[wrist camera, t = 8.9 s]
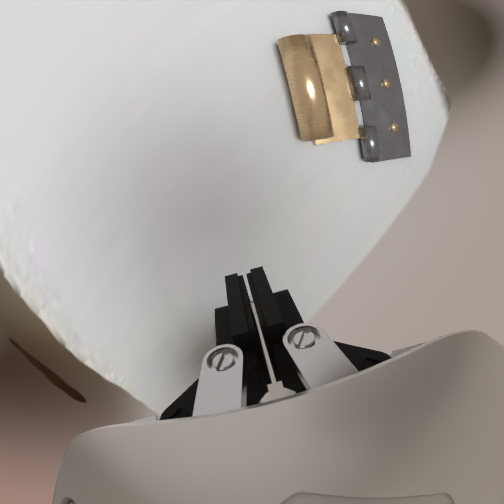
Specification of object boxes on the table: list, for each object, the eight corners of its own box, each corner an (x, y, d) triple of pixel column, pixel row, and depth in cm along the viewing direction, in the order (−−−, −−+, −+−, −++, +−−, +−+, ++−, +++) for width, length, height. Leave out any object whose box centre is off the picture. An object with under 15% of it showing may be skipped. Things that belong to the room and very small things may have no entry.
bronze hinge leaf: (356, 137, 35) (372, 139, 31) (298, 147, 34) (309, 149, 30) (333, 36, 28) (347, 28, 24) (271, 39, 27) (279, 29, 23)
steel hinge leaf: (407, 155, 36) (417, 158, 34) (360, 163, 36) (369, 166, 34) (379, 18, 26) (388, 14, 23) (326, 13, 25) (333, 7, 23)
